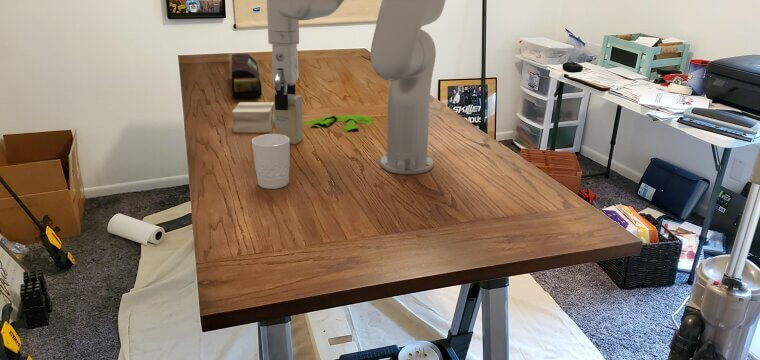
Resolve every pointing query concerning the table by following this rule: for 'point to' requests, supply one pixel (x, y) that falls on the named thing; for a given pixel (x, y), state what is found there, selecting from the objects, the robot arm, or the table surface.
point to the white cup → (272, 160)
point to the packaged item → (245, 77)
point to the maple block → (253, 117)
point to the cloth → (348, 126)
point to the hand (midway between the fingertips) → (285, 104)
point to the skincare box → (290, 119)
